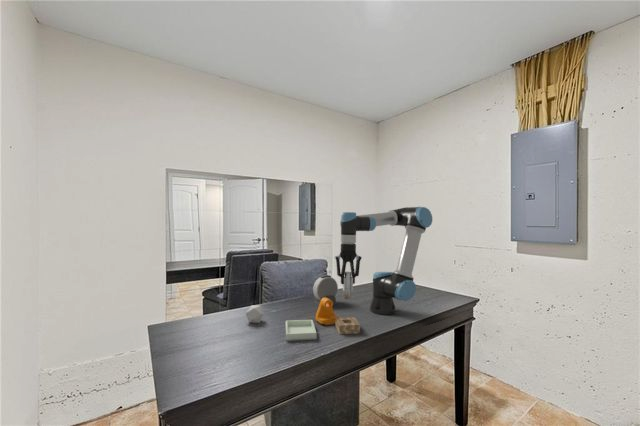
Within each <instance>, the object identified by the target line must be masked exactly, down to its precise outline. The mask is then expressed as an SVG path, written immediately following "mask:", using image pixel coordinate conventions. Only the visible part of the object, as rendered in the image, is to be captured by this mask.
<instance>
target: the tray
mask: <svg viewBox="0 0 640 426" xmlns="http://www.w3.org/2000/svg"><path fill="white" fill-rule="evenodd" d="M284 325H285V340H286V342H288V341H289V342H291V341H292V342H293V341H294V342H295V341H310V340H311V341H312V340H314V341H315V340H317V334H318V333H317V330H316V327H315V323H314V321H313V319H298V320H296V319H295V320H292V319H291V320H285V324H284Z"/></svg>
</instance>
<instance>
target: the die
mask: <svg viewBox="0 0 640 426" xmlns="http://www.w3.org/2000/svg"><path fill="white" fill-rule="evenodd" d="M245 315H246V317H247V322H248V323H250V324H252V323H253V324H259V323H260V322H261V321H262V320H263V317H264V316H265V312H264V309H263V308H262V305H250V307H249V308H248V310H247V311H246V312H245Z"/></svg>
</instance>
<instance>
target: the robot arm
mask: <svg viewBox="0 0 640 426" xmlns="http://www.w3.org/2000/svg"><path fill="white" fill-rule="evenodd" d="M432 223H433V214H432V212H431V210H430V209H429V208H427V207H426V206H414V207H413V206H410V207H409V206H407V207H401V208H397V209H396V208H395V209H390V210H388V211H386V212H377V213H369V214H362V215H357V213H356V212H353V211H352V212H351V211H350V212H348V211H347V212H346V211H345V212H342V213H341V216H340V223H339V225H340V252H339V255H335V256H334V259H335V260H336V261H335V262H336V264H335V265H336V276H338V277H340V284H341V285H342V291H343V292H345V285H346V278H345V272H346V268H347V267H346V266H347V263H349V267H350V272H351V292H353V291H354V285H355V283H356V277H359V274H360V266H361V261H362V256H360V255H358V254H357V244H356V243H357V232H372V231H374V230H375V229H376V228H377V227H382V226H391V227H393V226H398V227H399V226H400V227H404V229H405V230H406V231H405V234H404V239H403V242H402V247H401V249H400V250H401V251H400V255H399V257H398V262H397V266H396V270H394V271H393V272H392V271H376V272H373V275H372V298H371V301H370V303H369V310H370V312H372V313H374V314H377V315H381V316H384V315H385V316H389V315H393V314H395V313H396V311H397V310H396V305H395V301H394V299H396V300H398V301H404V302H407V301H410V300H411V299H412V298H413V297H414V296H415V294H416V290H417V287H416V283H415V282H414V276H413V271H414V266H415V263H416V258H417V255H418V250H419V246H420V242H421V238H422V234H424V233H426V229H427V228H429V227H430V226H432ZM341 259H342V266H341V264H340V262H341V261H340V260H341ZM354 260H356V261H355V262H356V263H354ZM354 264H355V265H354Z"/></svg>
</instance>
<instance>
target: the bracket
mask: <svg viewBox="0 0 640 426" xmlns="http://www.w3.org/2000/svg"><path fill="white" fill-rule="evenodd" d="M333 307H334V306H333V302H332V300H330V299H328V298H326V297H324V298H322V299H321V301H320V304H319V306H318V308H317V311H316V314H315V319H314V320H315V321H316V322H318V323H319V324H321V325H325V326H328V325H333V324H335V318H340V316H338V314H335V312H334V311H335V310H334V308H333Z"/></svg>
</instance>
